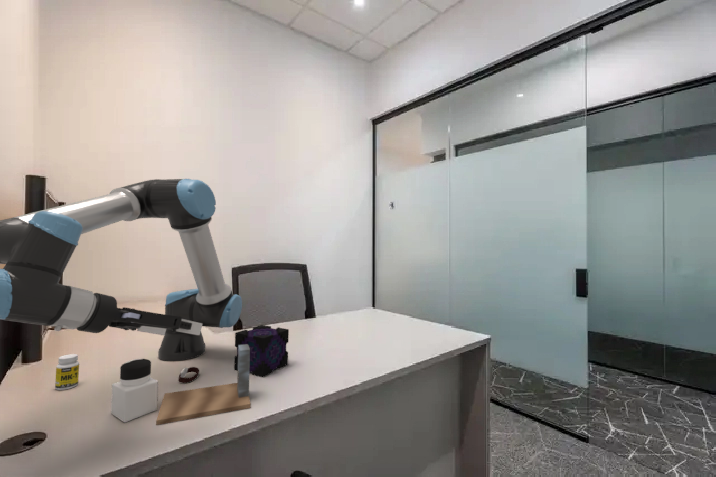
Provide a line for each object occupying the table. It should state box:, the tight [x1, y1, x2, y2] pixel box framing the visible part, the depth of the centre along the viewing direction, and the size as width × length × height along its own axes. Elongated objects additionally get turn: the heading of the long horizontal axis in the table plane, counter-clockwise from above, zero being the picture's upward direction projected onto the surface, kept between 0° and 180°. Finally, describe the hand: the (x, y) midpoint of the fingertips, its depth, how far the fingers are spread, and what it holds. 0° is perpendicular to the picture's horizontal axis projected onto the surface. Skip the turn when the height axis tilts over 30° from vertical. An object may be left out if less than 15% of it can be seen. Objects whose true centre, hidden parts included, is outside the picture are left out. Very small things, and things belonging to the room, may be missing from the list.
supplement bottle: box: [54, 353, 80, 391], centre depth 89 cm, size 5×5×8 cm
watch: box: [177, 366, 200, 384], centre depth 96 cm, size 8×5×4 cm, turn 178°
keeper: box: [155, 344, 252, 426], centre depth 82 cm, size 20×14×13 cm
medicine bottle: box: [110, 358, 159, 423], centre depth 77 cm, size 7×7×12 cm
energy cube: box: [233, 324, 290, 378], centre depth 106 cm, size 12×12×12 cm
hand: (182, 329), depth 80 cm, fingers open, 13 cm apart
